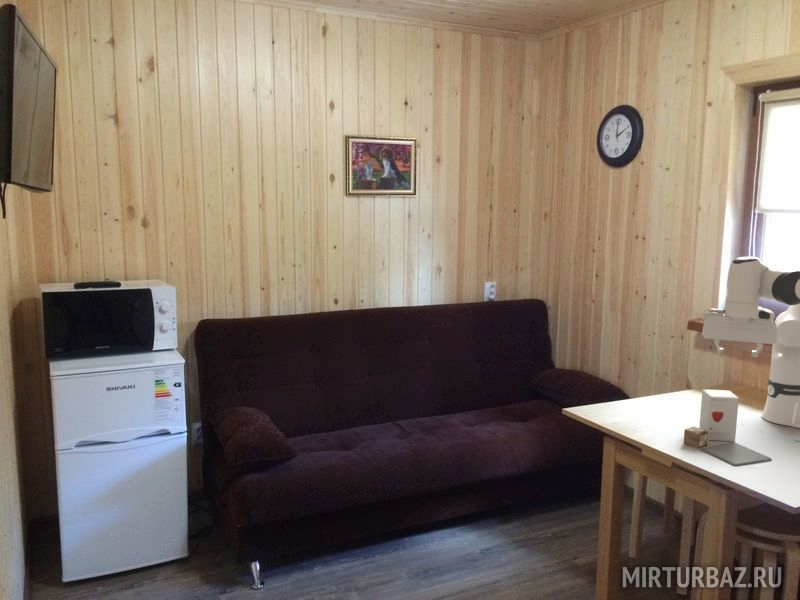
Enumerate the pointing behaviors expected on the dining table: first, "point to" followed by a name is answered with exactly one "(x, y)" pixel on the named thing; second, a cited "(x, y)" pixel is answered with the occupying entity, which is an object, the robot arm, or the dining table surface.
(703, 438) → the letter cube
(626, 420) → the dining table surface
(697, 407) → the dining table surface
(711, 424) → the supplement box
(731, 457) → the coaster
